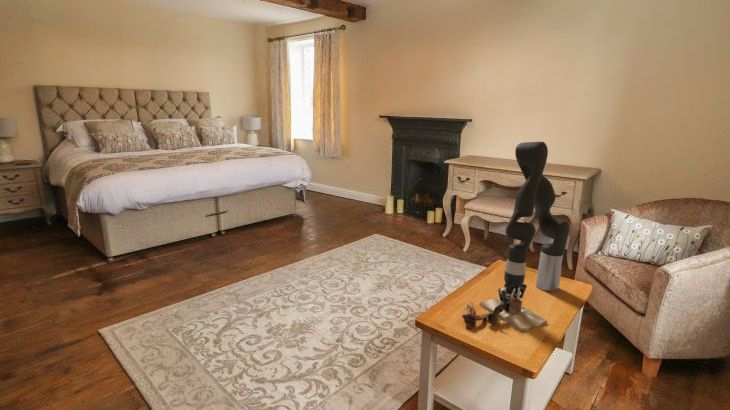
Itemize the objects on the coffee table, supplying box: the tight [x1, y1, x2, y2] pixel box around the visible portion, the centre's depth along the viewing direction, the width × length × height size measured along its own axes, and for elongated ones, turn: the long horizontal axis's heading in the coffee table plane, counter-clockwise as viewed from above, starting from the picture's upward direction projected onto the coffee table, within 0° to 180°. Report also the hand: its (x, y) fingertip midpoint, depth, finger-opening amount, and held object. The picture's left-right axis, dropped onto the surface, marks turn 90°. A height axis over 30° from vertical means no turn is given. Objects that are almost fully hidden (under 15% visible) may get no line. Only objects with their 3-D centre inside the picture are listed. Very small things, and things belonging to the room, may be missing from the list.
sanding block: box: [501, 294, 523, 315], centre depth 160 cm, size 4×7×5 cm, turn 28°
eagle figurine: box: [485, 304, 504, 327], centre depth 153 cm, size 8×7×9 cm
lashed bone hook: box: [461, 300, 487, 329], centre depth 155 cm, size 9×5×18 cm
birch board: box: [479, 296, 548, 332], centre depth 160 cm, size 14×22×1 cm, turn 27°
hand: (509, 309), depth 161 cm, fingers closed on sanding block, 4 cm apart
